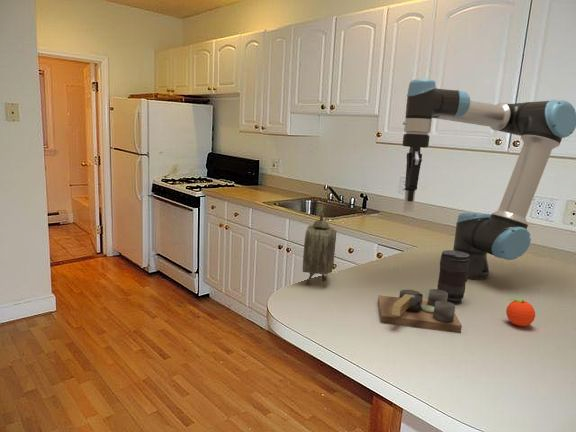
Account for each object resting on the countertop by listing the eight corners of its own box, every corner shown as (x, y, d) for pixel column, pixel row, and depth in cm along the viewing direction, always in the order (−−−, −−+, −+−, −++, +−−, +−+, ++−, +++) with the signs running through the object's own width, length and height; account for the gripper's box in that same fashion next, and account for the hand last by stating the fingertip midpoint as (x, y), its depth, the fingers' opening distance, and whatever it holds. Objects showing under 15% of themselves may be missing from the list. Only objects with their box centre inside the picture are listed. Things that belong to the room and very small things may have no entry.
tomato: (496, 322, 115) (500, 297, 114) (505, 316, 120) (509, 292, 119) (528, 333, 110) (533, 307, 108) (536, 326, 115) (540, 301, 113)
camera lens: (440, 293, 135) (446, 248, 132) (466, 300, 130) (473, 253, 127) (431, 299, 129) (437, 252, 126) (458, 307, 124) (465, 258, 121)
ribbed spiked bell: (306, 272, 147) (312, 201, 142) (332, 275, 146) (339, 204, 141) (301, 286, 133) (306, 208, 128) (329, 289, 132) (336, 211, 127)
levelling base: (448, 309, 122) (451, 290, 121) (460, 333, 107) (464, 310, 106) (377, 301, 125) (380, 282, 123) (380, 322, 110) (383, 301, 109)
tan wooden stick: (402, 301, 120) (404, 287, 119) (423, 306, 117) (425, 292, 116) (383, 318, 107) (385, 302, 107) (406, 325, 104) (408, 309, 103)
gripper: (401, 133, 133) (393, 207, 137) (406, 132, 120) (398, 214, 124) (425, 134, 132) (417, 208, 136) (433, 134, 119) (424, 216, 123)
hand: (408, 211), depth 130 cm, fingers closed
